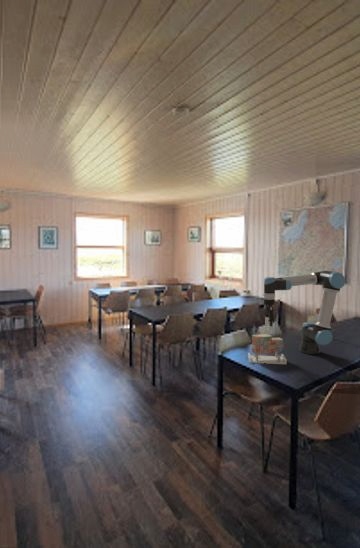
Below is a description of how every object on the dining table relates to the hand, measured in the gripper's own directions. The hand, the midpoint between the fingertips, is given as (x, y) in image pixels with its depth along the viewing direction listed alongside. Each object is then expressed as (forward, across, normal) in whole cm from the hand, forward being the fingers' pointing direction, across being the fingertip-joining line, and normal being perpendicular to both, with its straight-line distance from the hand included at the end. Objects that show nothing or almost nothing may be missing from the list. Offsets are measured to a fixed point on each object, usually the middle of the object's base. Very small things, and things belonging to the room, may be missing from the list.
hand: (268, 328), depth 232 cm
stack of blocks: (+17, +2, -1) cm, 17 cm away
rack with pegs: (+23, +2, -2) cm, 23 cm away
